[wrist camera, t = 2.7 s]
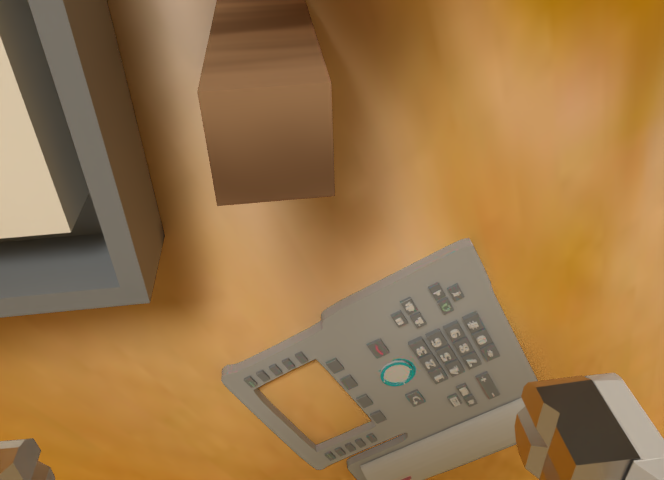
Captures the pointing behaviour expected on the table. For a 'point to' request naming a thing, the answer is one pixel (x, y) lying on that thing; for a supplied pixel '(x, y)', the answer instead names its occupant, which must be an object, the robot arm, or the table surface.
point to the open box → (70, 165)
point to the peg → (266, 104)
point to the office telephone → (406, 371)
